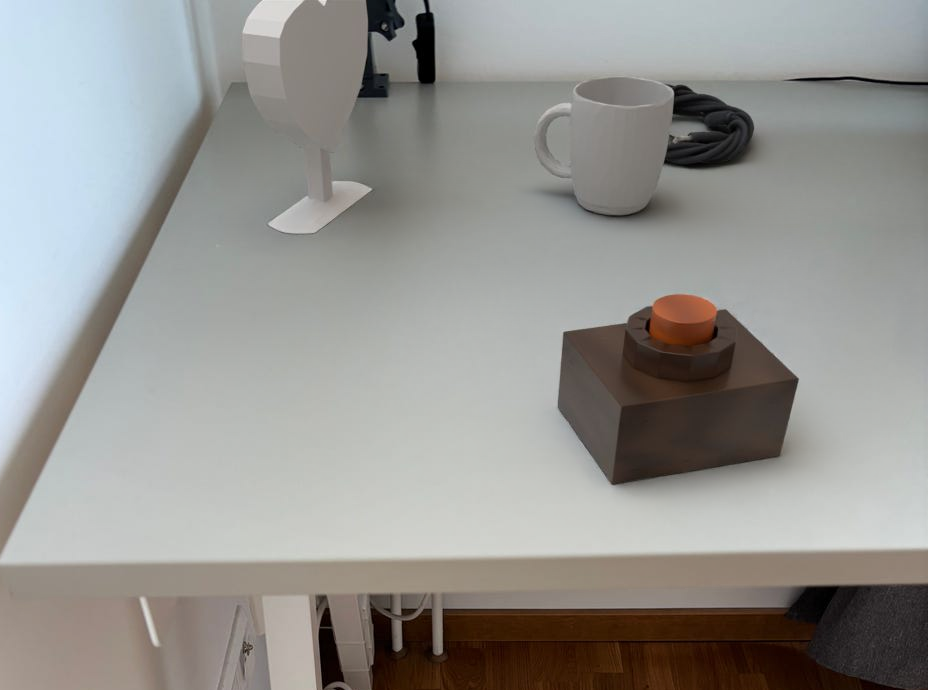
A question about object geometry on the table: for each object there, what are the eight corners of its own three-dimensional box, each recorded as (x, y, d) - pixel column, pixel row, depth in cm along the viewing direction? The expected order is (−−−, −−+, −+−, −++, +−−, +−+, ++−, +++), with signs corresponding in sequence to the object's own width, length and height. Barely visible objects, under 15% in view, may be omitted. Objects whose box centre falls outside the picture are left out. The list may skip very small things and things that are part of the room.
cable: (641, 107, 125) (645, 66, 122) (764, 122, 121) (772, 79, 118) (602, 157, 113) (606, 112, 110) (737, 174, 109) (746, 128, 106)
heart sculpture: (336, 174, 109) (323, -33, 97) (381, 182, 107) (373, -27, 95) (255, 232, 98) (228, 7, 86) (303, 241, 97) (283, 14, 85)
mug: (671, 195, 105) (686, 83, 98) (643, 228, 99) (657, 111, 92) (548, 174, 109) (555, 65, 102) (514, 205, 103) (519, 92, 96)
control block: (712, 382, 79) (730, 283, 74) (780, 456, 72) (806, 352, 67) (557, 406, 76) (564, 305, 71) (611, 485, 69) (624, 379, 64)
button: (695, 316, 71) (699, 290, 70) (723, 344, 68) (728, 318, 67) (638, 323, 70) (642, 298, 69) (665, 352, 67) (668, 326, 66)
